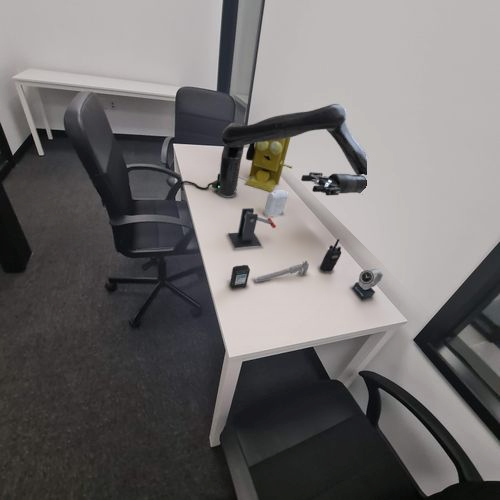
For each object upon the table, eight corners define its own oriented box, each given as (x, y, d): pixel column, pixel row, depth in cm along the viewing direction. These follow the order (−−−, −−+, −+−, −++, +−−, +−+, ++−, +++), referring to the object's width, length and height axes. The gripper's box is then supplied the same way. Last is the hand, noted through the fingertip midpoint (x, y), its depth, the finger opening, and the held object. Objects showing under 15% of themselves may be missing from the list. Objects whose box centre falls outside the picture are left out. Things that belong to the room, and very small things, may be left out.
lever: (268, 222, 107) (271, 217, 106) (273, 229, 104) (277, 224, 103) (242, 214, 100) (245, 208, 99) (247, 221, 96) (250, 216, 95)
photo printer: (278, 210, 131) (285, 187, 123) (283, 214, 128) (290, 191, 121) (262, 213, 125) (267, 189, 118) (267, 218, 123) (273, 194, 115)
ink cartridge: (231, 289, 84) (235, 271, 80) (229, 284, 86) (233, 266, 81) (246, 287, 86) (250, 269, 81) (243, 282, 88) (247, 264, 83)
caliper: (304, 272, 97) (309, 259, 93) (305, 274, 97) (311, 261, 93) (253, 280, 89) (257, 267, 85) (255, 283, 89) (258, 269, 85)
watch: (347, 289, 94) (361, 267, 88) (364, 285, 98) (378, 263, 91) (358, 301, 90) (372, 279, 84) (374, 297, 94) (390, 275, 87)
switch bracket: (252, 233, 111) (259, 205, 102) (260, 247, 104) (268, 217, 96) (227, 235, 107) (232, 206, 98) (234, 249, 100) (240, 219, 92)
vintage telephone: (229, 179, 148) (237, 123, 129) (237, 171, 158) (245, 118, 140) (282, 195, 144) (298, 139, 125) (287, 186, 155) (302, 133, 136)
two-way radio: (321, 273, 99) (336, 241, 90) (316, 265, 102) (330, 233, 93) (333, 272, 100) (350, 241, 91) (328, 264, 104) (343, 233, 94)
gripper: (335, 167, 107) (301, 165, 100) (357, 183, 97) (321, 182, 91) (328, 184, 111) (295, 183, 105) (348, 201, 101) (314, 201, 95)
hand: (307, 183), depth 98 cm, fingers open, 8 cm apart
